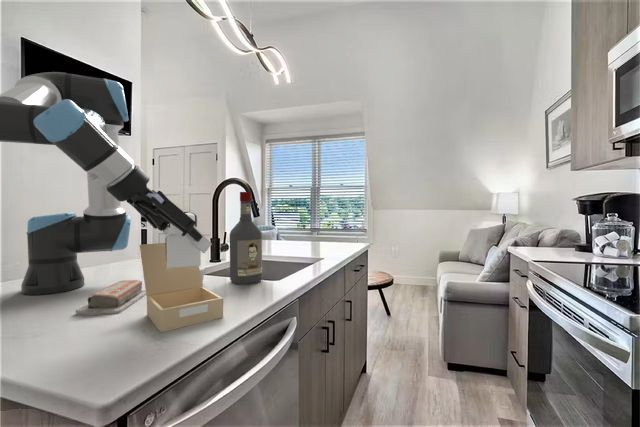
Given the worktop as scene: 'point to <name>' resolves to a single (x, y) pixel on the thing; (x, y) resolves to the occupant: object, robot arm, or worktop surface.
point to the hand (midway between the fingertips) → (196, 246)
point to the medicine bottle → (181, 248)
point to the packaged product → (113, 298)
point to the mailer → (176, 292)
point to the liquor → (245, 246)
